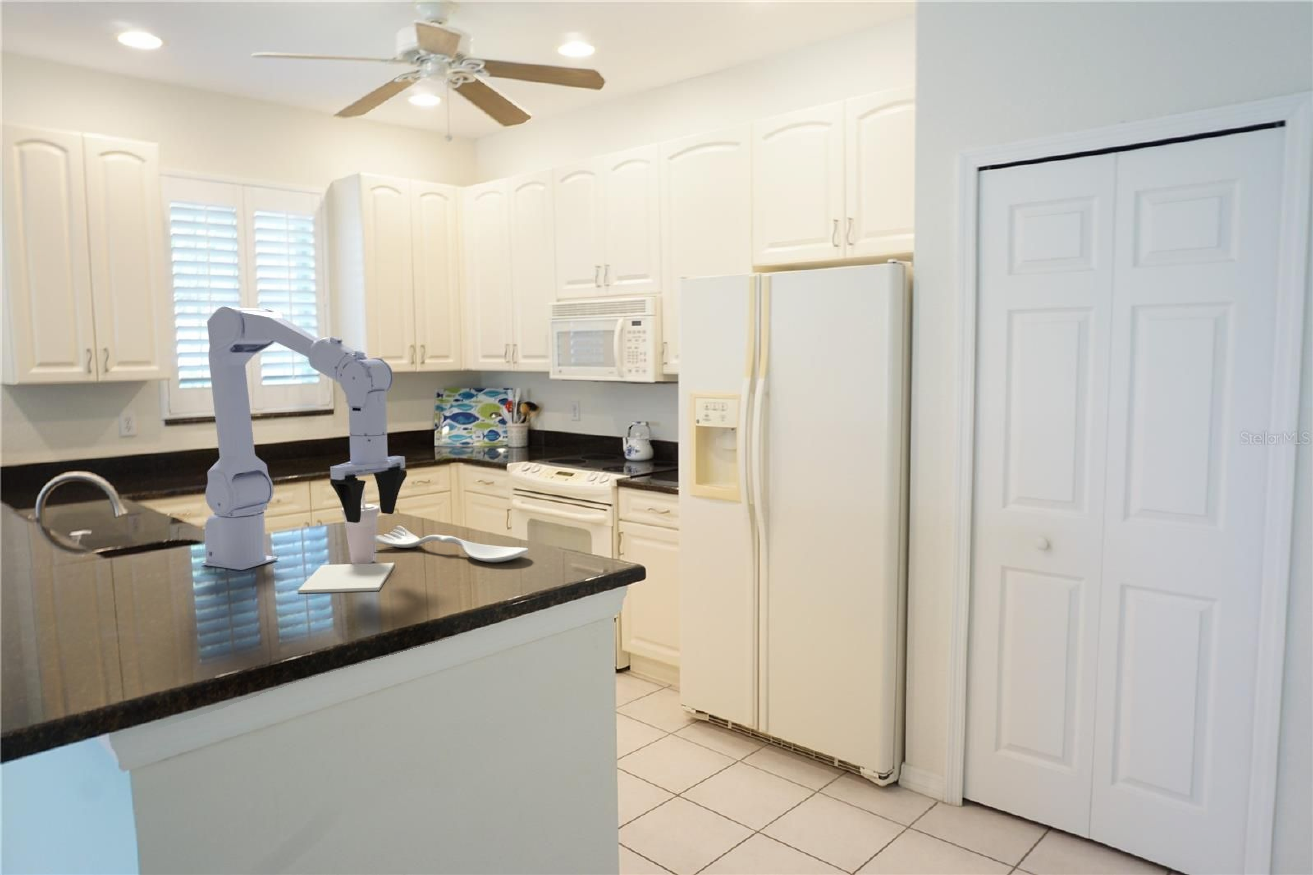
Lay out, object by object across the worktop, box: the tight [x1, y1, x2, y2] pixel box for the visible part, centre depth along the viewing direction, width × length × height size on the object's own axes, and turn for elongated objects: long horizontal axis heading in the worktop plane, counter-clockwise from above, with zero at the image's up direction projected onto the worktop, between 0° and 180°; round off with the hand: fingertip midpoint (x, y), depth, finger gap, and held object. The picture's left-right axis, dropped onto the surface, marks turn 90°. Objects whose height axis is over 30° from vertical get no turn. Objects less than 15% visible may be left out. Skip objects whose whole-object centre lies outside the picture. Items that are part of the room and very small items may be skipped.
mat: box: [297, 562, 395, 594], centre depth 140 cm, size 15×12×1 cm
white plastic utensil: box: [375, 525, 529, 563], centre depth 157 cm, size 9×32×4 cm, turn 65°
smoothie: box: [340, 485, 381, 564], centre depth 150 cm, size 6×6×14 cm
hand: (370, 517), depth 139 cm, fingers open, 7 cm apart
